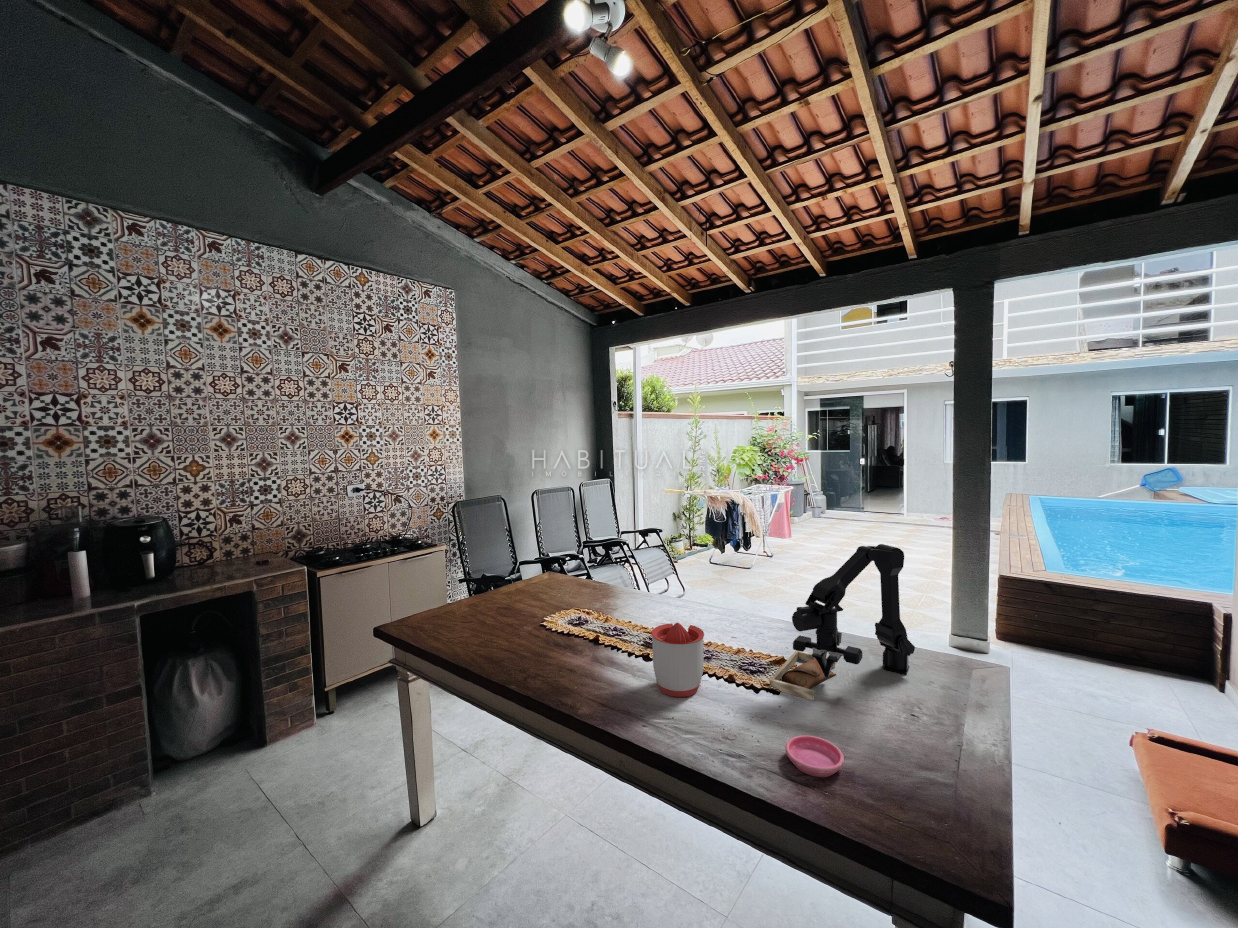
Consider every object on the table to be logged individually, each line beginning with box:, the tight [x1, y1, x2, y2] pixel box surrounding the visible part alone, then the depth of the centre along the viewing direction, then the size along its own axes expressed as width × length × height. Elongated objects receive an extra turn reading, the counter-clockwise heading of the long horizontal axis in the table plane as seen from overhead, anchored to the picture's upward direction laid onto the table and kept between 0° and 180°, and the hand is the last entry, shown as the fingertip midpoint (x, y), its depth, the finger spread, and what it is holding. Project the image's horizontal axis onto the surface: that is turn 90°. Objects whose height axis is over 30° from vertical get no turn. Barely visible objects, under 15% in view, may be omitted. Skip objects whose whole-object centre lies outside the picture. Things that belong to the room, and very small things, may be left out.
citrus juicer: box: [651, 622, 705, 698], centre depth 151 cm, size 16×17×20 cm
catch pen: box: [769, 650, 837, 701], centre depth 155 cm, size 12×25×2 cm, turn 143°
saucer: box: [784, 734, 845, 778], centre depth 115 cm, size 12×12×3 cm
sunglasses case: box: [781, 658, 837, 690], centre depth 155 cm, size 18×7×7 cm, turn 129°
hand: (826, 676), depth 152 cm, fingers closed
